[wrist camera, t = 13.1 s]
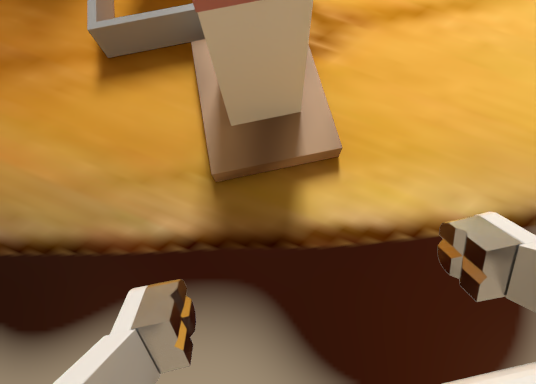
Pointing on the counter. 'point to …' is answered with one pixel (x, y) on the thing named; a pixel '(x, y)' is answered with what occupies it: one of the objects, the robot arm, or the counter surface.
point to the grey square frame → (141, 28)
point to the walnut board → (264, 127)
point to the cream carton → (257, 54)
